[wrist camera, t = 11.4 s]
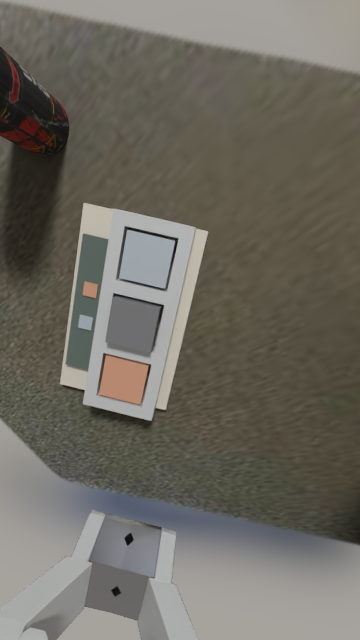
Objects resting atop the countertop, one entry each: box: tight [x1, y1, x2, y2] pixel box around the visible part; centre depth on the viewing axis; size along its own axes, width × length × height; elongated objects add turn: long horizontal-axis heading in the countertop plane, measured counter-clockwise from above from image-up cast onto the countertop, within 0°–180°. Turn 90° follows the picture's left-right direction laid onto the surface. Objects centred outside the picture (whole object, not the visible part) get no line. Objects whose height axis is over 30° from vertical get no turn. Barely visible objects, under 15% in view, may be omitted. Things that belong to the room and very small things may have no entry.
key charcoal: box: [106, 294, 163, 353], centre depth 33 cm, size 5×5×2 cm
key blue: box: [119, 230, 177, 289], centre depth 32 cm, size 5×5×2 cm
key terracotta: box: [99, 354, 151, 405], centre depth 36 cm, size 5×5×2 cm
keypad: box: [60, 203, 208, 421], centre depth 35 cm, size 14×22×4 cm, turn 167°
